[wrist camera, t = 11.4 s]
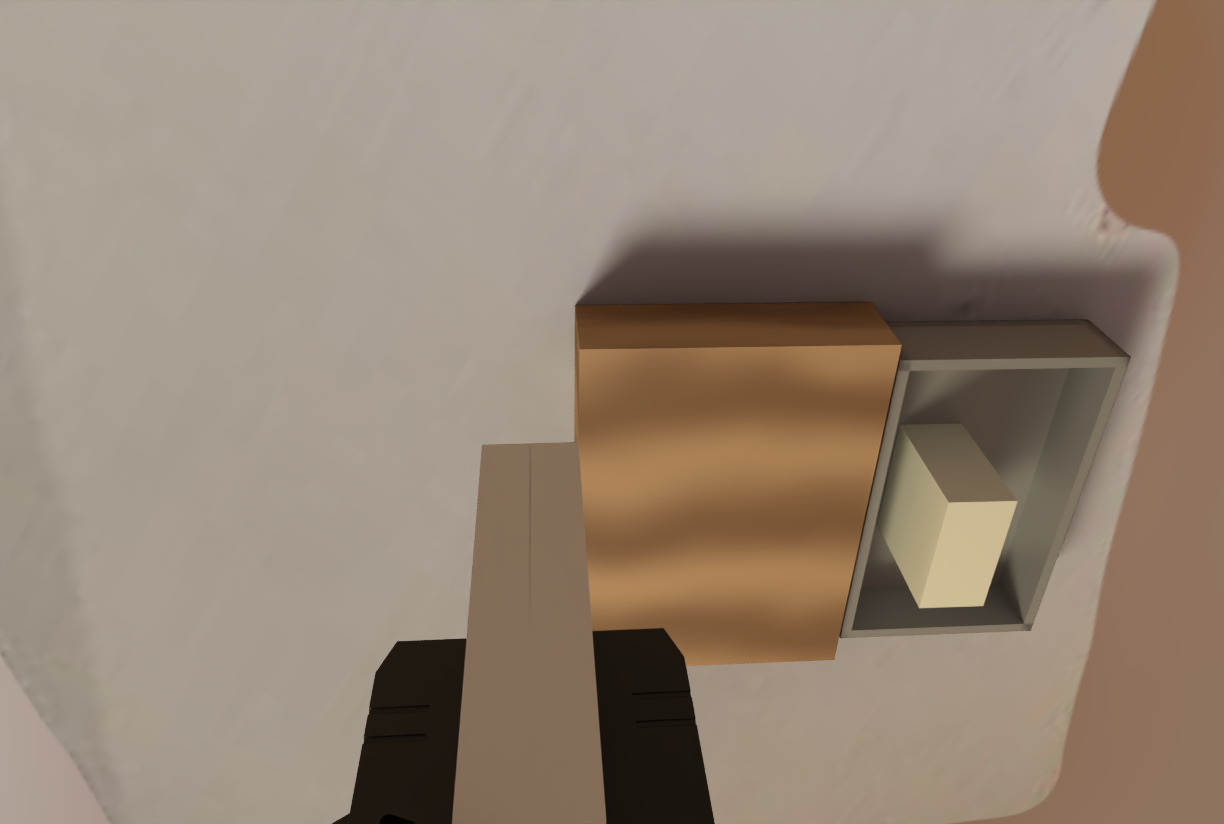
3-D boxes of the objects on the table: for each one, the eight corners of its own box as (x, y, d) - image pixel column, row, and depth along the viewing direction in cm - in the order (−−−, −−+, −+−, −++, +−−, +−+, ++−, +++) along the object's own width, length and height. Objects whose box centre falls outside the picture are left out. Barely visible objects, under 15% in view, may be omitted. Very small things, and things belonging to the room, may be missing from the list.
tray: (873, 322, 41) (900, 360, 38) (1088, 319, 42) (1130, 356, 39) (821, 590, 50) (840, 638, 47) (1001, 583, 51) (1030, 630, 48)
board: (575, 305, 40) (579, 349, 36) (870, 302, 41) (901, 345, 38) (573, 612, 49) (577, 670, 46) (813, 603, 50) (833, 659, 47)
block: (948, 502, 39) (1017, 501, 39) (900, 424, 44) (961, 423, 44) (919, 608, 42) (983, 606, 42) (877, 524, 47) (934, 522, 47)
